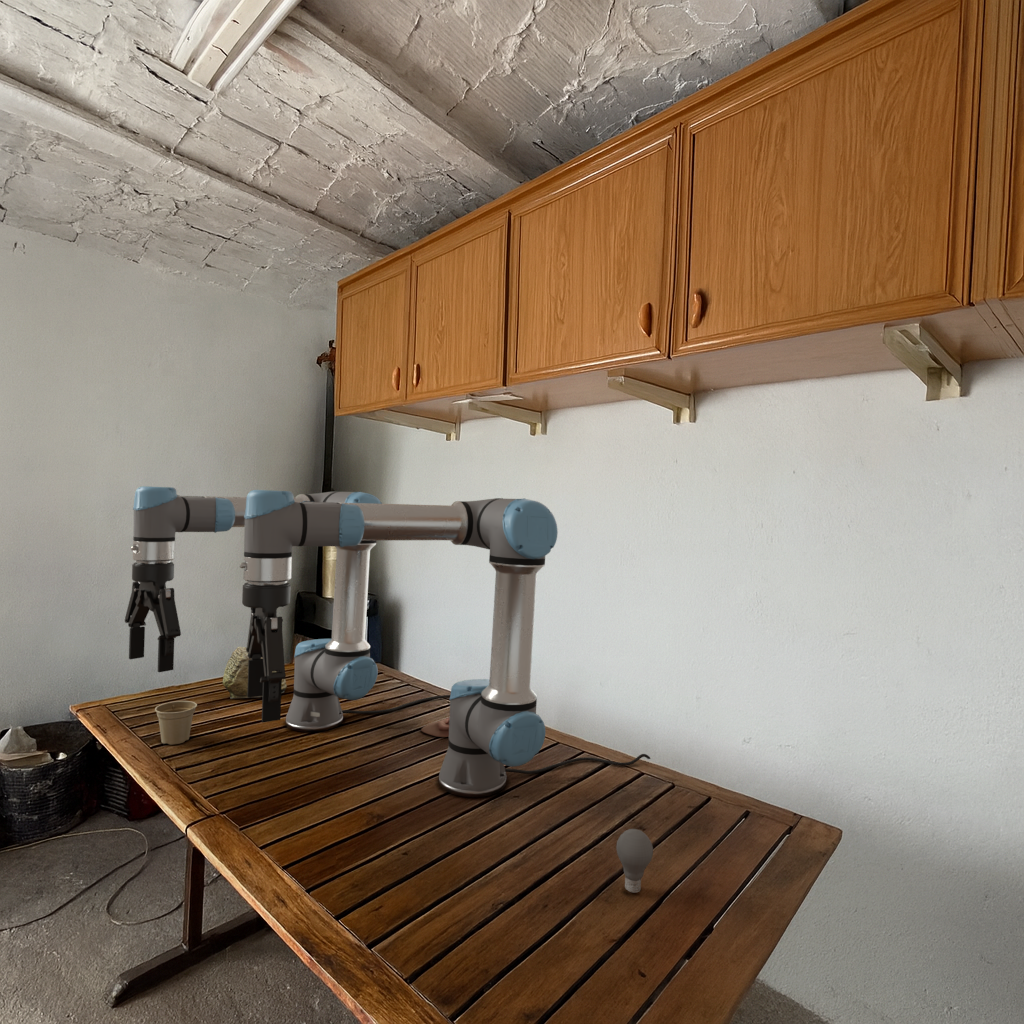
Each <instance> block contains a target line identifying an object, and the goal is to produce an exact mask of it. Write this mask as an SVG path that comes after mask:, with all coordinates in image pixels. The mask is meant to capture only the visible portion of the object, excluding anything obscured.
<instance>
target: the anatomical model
mask: <svg viewBox="0 0 1024 1024" xmlns="http://www.w3.org/2000/svg"><path fill="white" fill-rule="evenodd" d="M420 730H421V732H422V733H424V734H426V735H430V736H433V737H438V738H439V737H440V738H447V737H448V738H449V717H446V718H443V719H441V720H438V721H433V722H431V723H428V724H426V725H425V726H422V728H421V729H420Z"/></svg>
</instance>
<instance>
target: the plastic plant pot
mask: <svg viewBox="0 0 1024 1024" xmlns="http://www.w3.org/2000/svg"><path fill="white" fill-rule="evenodd" d="M197 707H198V703H197V702H195V701H191V700H176V701H169V702H165V703H162V704H159V705H157V706H155V708H154V712H156V716H157V719H158V726H159V733H160V741H161V743H162V744H163V745H166V744H167V745H172V746H173V745H174V746H175V745H180V744H183V743H185V741H189V739H190V735H191V728H192V723H193V717H194V713H195V712H196V708H197Z"/></svg>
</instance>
